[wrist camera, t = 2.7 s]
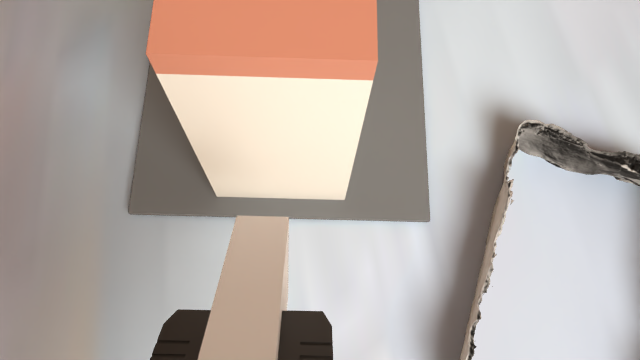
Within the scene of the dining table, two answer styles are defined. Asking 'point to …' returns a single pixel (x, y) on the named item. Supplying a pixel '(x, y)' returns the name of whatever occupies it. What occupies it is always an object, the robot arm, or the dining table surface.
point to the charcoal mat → (369, 164)
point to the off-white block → (268, 89)
